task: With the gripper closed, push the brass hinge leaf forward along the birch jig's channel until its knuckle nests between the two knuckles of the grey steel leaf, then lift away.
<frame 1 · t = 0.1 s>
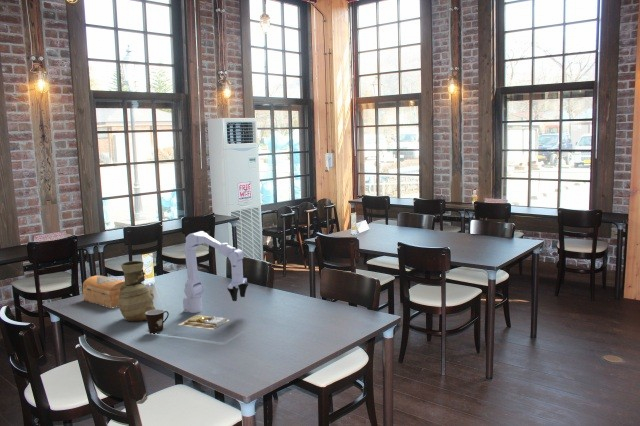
hand: (238, 298, 298), 10 cm above the table, tool pointing down, fingers open, 7 cm apart
jig board: (204, 324, 291), on the table
coffee mug: (159, 331, 282), on the table
ceramic vessel: (138, 318, 304), on the table
wooden box: (109, 301, 338), on the table
steel leaf: (210, 323, 289), resting on jig board
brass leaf: (202, 322, 291), point 1 cm above the table, touching jig board
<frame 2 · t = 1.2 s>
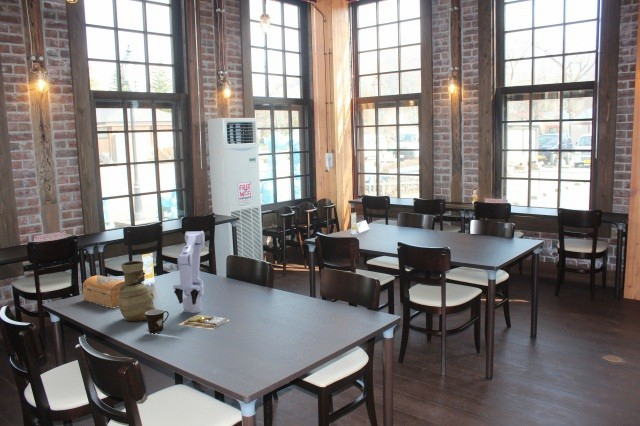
hand: (187, 303, 294), 9 cm above the table, tool pointing down, fingers open, 7 cm apart
nothing on the table moved.
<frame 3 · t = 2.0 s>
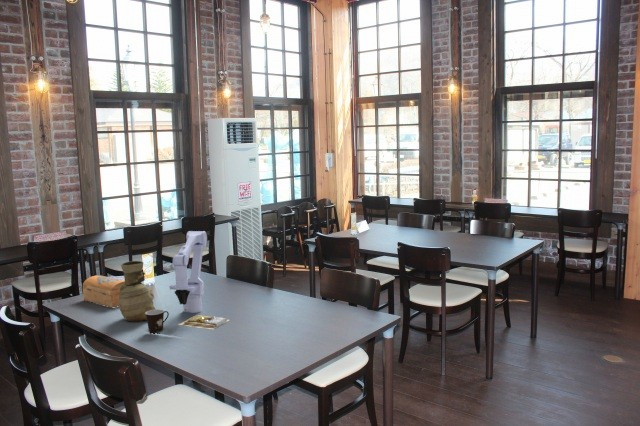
hand: (183, 304, 294), 9 cm above the table, tool pointing down, fingers closed
nothing on the table moved.
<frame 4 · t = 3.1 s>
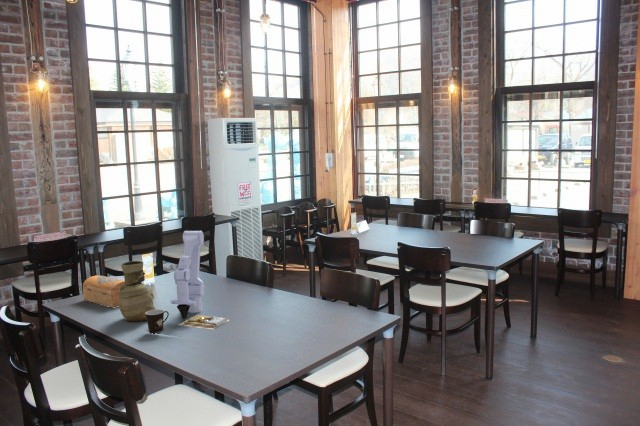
hand: (184, 318, 295), 2 cm above the table, tool pointing down, fingers closed
nothing on the table moved.
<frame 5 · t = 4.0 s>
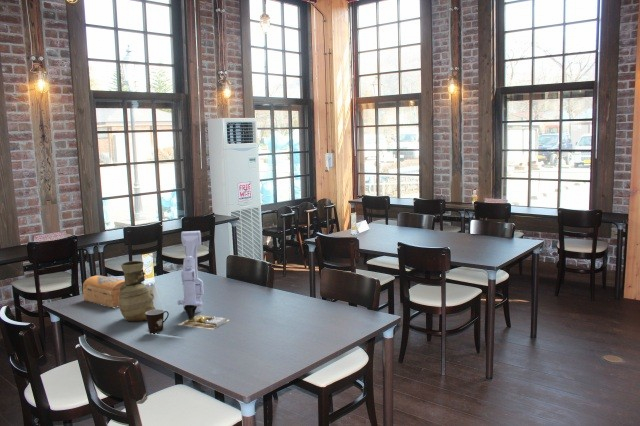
hand: (191, 319, 293), 2 cm above the table, tool pointing down, fingers closed
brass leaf: (203, 322, 291), point 1 cm above the table, touching gripper, jig board
everything else where it was.
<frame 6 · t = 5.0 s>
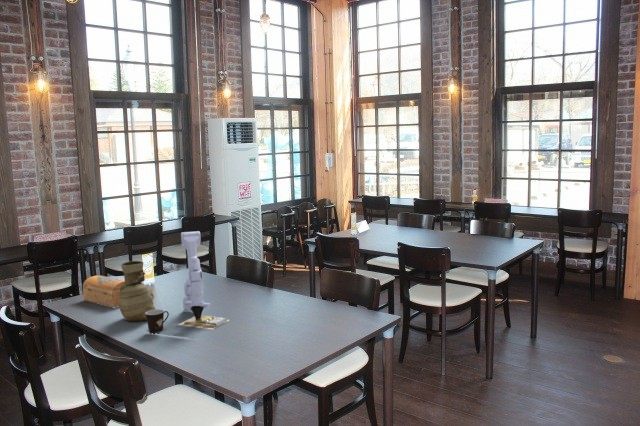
hand: (198, 320, 292), 2 cm above the table, tool pointing down, fingers closed
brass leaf: (210, 323, 289), point 1 cm above the table, touching gripper, jig board
everything else where it was.
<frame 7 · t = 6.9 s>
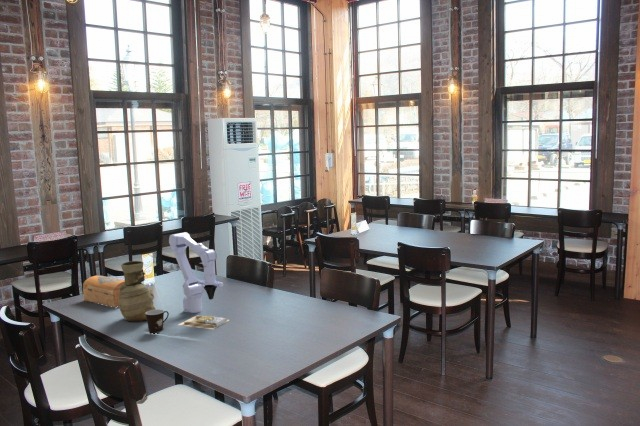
hand: (211, 298, 300), 10 cm above the table, tool pointing down, fingers closed
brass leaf: (210, 323, 289), point 1 cm above the table, touching jig board
everything else where it was.
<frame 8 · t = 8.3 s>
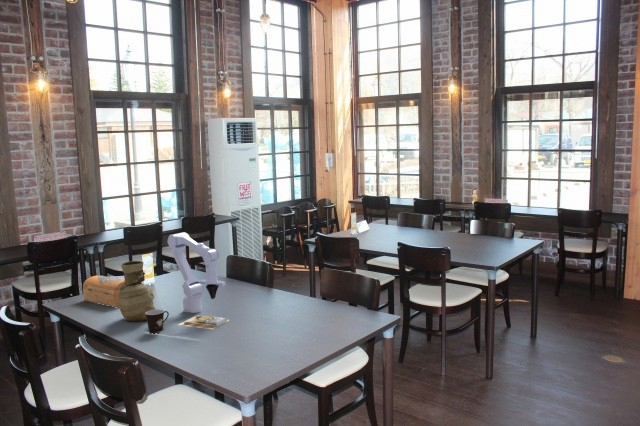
hand: (213, 298, 301), 10 cm above the table, tool pointing down, fingers closed
at the end: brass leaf 0.2 cm from the target spot, point 1.0 cm above the table; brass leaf tilted 0°; the gripper is holding nothing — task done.
